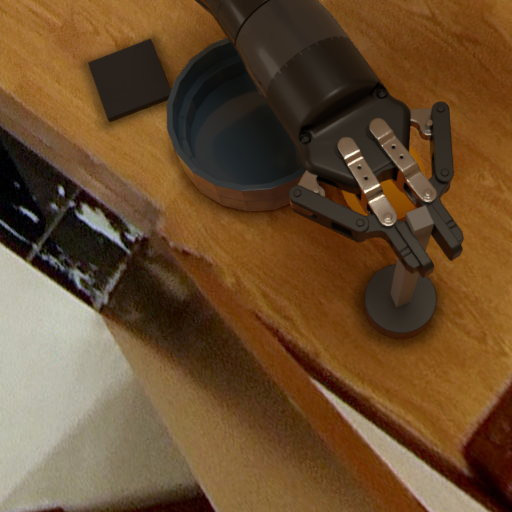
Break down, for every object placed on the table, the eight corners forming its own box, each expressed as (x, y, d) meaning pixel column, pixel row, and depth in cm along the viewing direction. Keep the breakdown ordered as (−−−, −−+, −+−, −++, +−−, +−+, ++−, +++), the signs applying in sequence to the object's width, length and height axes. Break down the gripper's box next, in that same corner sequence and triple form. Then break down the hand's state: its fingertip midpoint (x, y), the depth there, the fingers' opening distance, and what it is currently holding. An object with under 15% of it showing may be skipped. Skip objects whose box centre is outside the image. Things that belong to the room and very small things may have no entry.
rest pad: (152, 42, 90) (150, 38, 89) (173, 97, 88) (172, 94, 87) (89, 66, 90) (87, 62, 89) (109, 122, 88) (107, 118, 87)
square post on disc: (416, 261, 80) (445, 158, 57) (445, 323, 78) (486, 243, 55) (353, 286, 80) (355, 193, 57) (380, 349, 78) (394, 279, 55)
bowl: (304, 41, 88) (301, 8, 82) (365, 176, 83) (367, 151, 77) (157, 98, 88) (144, 69, 82) (209, 237, 83) (199, 216, 77)
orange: (332, 164, 84) (330, 131, 77) (411, 146, 84) (417, 111, 76) (350, 239, 81) (351, 213, 74) (432, 222, 81) (440, 193, 74)
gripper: (219, 92, 59) (357, 303, 53) (389, -6, 59) (541, 191, 54) (233, 139, 66) (355, 328, 60) (385, 50, 67) (518, 229, 61)
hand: (442, 262), depth 57 cm, fingers closed on square post on disc
